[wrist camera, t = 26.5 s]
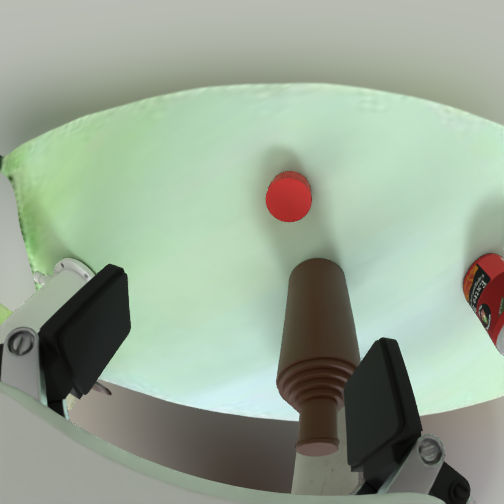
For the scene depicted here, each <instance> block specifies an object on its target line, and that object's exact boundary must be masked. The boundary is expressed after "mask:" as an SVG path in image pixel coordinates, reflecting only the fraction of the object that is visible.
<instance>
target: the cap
mask: <svg viewBox="0 0 504 504" xmlns="http://www.w3.org/2000/svg"><path fill="white" fill-rule="evenodd" d="M311 201H312V197H311V189H310V185H309V183H308V181H307V180H306V178H305V177H304V176H303V175H301V174H300V173H297V172H294V171H286V172H282V173H280V174H279V175H277V176H276V177H275V178H274V180H273V181H272V182H271V184H270V186H269V187H268V191H267V194H266V205H267V208H268V210H269V212H270V213H271V214H272V215H273V216H274V217H275V218H277V219H278V220H281V221H284V222H294V221H298V220H300V219H302V218H303V217H304V216H305V215H306V214H307V213H308V211H309V210H310V207H311Z"/></svg>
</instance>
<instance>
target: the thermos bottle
mask: <svg viewBox="0 0 504 504" xmlns="http://www.w3.org/2000/svg"><path fill="white" fill-rule="evenodd" d="M338 429H339V440H340V444H339V445H338V448H339V450H338V451H336V452H335V453H333V454H330V455H326V456H319V457H311V456H305V455H301V454H299V453H298V452H297V454H296V462H295V470H294V478H293V485H292V492H291V494H296V495H314V496H348V495H349V494H350V493H351V492H352V491H353V490H354V489H355V487H356V486H357V485H358V472H351V466H350V465H348V463H347V439H346V420H345V406H344V407H343V408H342V409H341V410H340V411H338Z"/></svg>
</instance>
